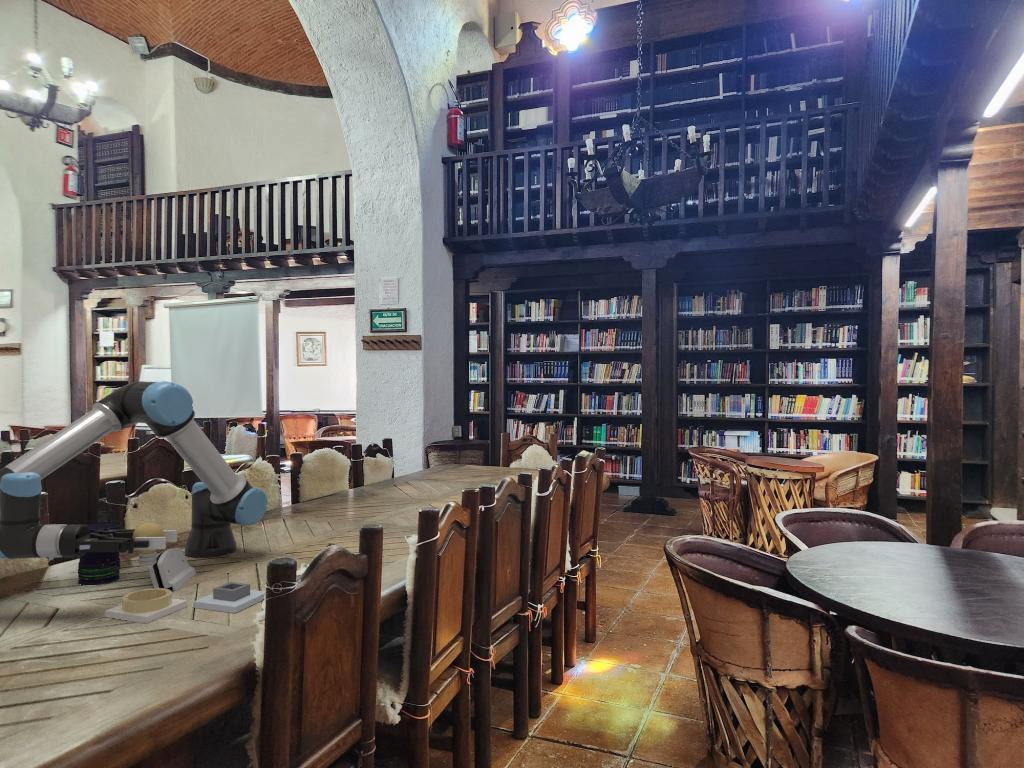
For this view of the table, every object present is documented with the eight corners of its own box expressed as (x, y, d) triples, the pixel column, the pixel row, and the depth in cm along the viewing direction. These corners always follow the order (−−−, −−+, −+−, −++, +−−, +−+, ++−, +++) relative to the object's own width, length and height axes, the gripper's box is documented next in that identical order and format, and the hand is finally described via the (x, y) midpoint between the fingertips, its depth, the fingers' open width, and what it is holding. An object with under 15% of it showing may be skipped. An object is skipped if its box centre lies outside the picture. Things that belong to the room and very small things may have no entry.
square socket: (228, 592, 168) (228, 577, 168) (267, 597, 165) (268, 582, 165) (193, 607, 157) (194, 591, 157) (235, 613, 153) (235, 596, 153)
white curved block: (175, 591, 168) (162, 555, 168) (156, 598, 168) (143, 562, 167) (196, 573, 185) (184, 540, 185) (180, 579, 184) (168, 546, 184)
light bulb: (130, 570, 149) (132, 526, 149) (132, 563, 154) (133, 521, 155) (162, 567, 152) (163, 524, 152) (162, 560, 157) (164, 519, 157)
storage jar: (69, 582, 174) (70, 527, 174) (105, 573, 183) (106, 520, 183) (92, 588, 170) (93, 531, 170) (128, 578, 179) (129, 524, 179)
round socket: (147, 601, 161) (148, 585, 161) (187, 606, 157) (187, 590, 157) (104, 617, 149) (105, 600, 149) (146, 623, 146) (146, 605, 146)
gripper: (86, 547, 160) (185, 545, 163) (41, 568, 141) (154, 566, 144) (86, 516, 160) (185, 515, 163) (42, 534, 141) (155, 532, 144)
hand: (170, 539), depth 154 cm, fingers closed on light bulb, 6 cm apart
